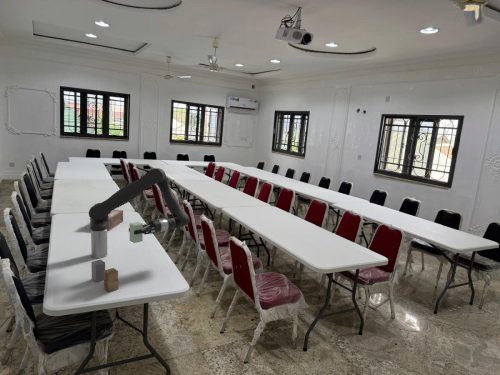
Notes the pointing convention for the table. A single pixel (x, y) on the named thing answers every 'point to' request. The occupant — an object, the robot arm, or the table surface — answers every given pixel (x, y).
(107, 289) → the walnut block
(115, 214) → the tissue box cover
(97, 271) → the charcoal block
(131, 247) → the table surface
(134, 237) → the sage block
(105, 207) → the robot arm
